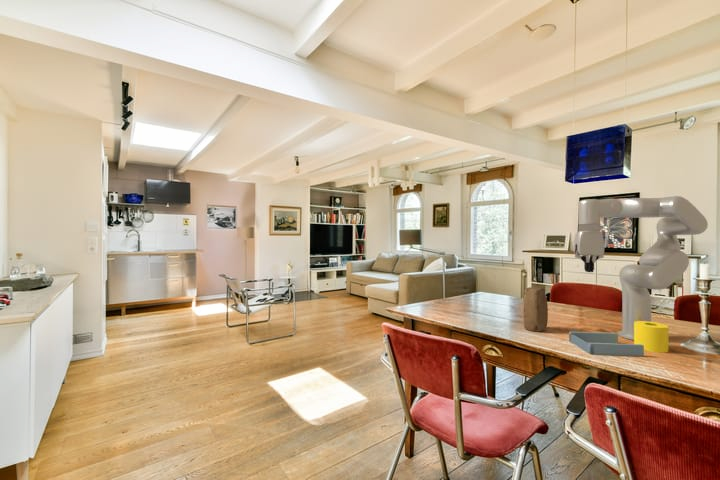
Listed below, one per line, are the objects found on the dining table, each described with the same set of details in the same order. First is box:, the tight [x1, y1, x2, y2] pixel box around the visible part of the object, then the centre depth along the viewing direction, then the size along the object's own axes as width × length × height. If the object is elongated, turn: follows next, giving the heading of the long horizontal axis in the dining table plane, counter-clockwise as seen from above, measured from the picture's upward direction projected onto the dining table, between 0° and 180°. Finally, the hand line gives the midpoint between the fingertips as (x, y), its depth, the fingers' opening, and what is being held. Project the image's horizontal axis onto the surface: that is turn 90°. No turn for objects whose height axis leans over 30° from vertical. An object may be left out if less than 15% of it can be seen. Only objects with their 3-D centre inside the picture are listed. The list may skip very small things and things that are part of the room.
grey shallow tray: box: [568, 331, 645, 357], centre depth 126 cm, size 18×15×4 cm
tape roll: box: [633, 321, 669, 354], centre depth 126 cm, size 10×10×9 cm
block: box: [522, 286, 549, 333], centre depth 152 cm, size 11×8×20 cm
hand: (589, 271), depth 136 cm, fingers closed
